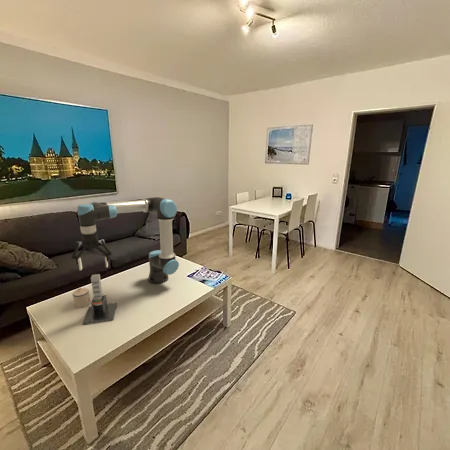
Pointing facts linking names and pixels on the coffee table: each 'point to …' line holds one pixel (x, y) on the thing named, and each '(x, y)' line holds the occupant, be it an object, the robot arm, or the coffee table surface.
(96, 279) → the column
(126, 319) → the coffee table surface
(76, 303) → the teacup with lid
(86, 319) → the stand base
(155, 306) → the coffee table surface
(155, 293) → the coffee table surface
